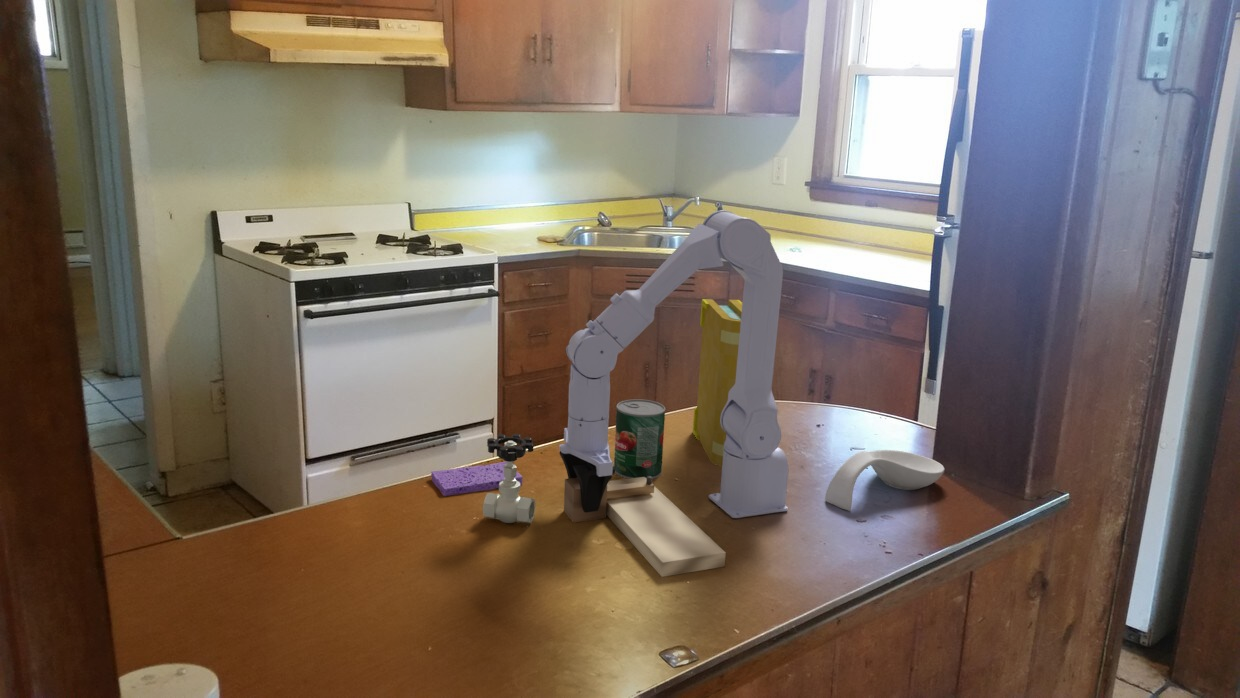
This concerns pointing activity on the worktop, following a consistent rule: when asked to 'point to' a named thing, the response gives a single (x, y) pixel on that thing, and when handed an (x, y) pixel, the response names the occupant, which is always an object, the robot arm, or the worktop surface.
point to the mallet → (575, 505)
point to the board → (663, 532)
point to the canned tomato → (639, 438)
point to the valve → (509, 482)
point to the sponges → (470, 478)
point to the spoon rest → (883, 473)
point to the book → (716, 372)
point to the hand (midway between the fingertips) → (585, 504)
